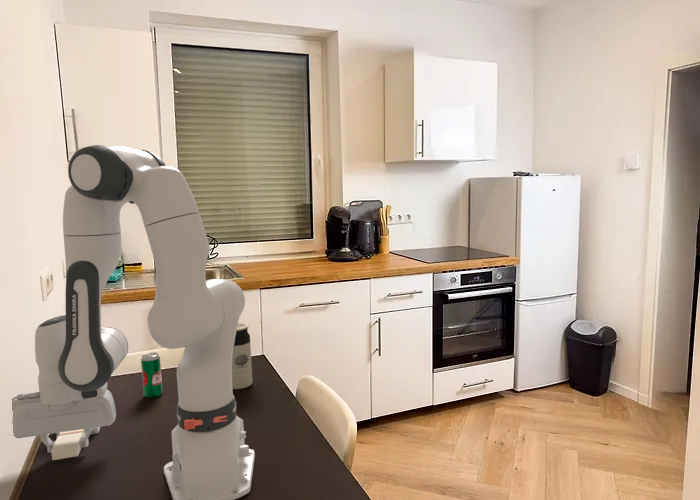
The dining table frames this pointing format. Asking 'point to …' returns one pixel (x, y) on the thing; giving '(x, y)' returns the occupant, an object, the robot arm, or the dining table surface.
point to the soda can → (151, 375)
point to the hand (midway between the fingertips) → (68, 448)
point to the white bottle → (241, 358)
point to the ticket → (67, 444)
